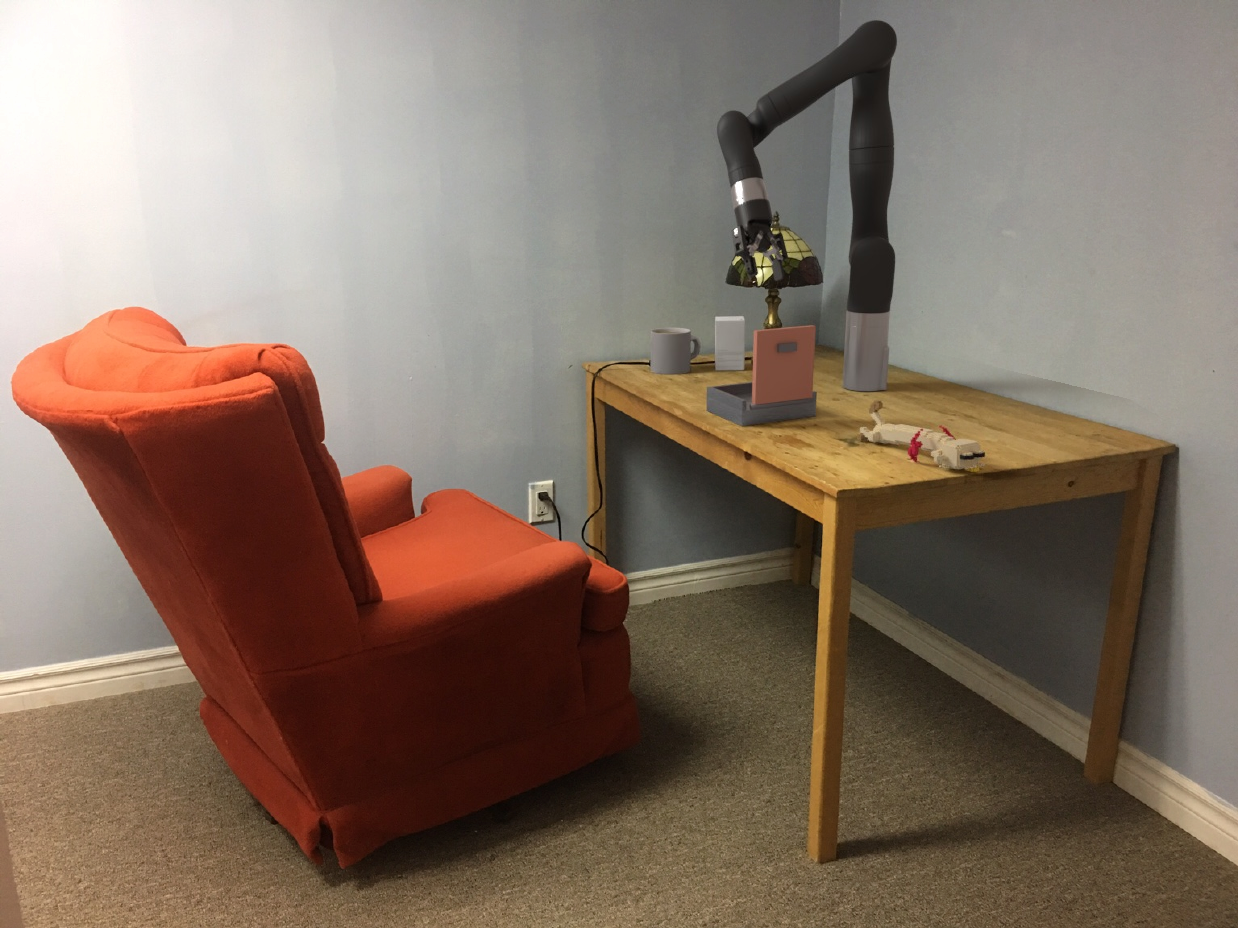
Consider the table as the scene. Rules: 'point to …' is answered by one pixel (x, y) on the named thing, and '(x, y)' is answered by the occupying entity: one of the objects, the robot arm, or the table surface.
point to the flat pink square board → (783, 367)
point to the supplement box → (729, 343)
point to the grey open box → (736, 406)
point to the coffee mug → (672, 350)
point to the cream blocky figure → (925, 442)
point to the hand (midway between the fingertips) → (766, 278)
